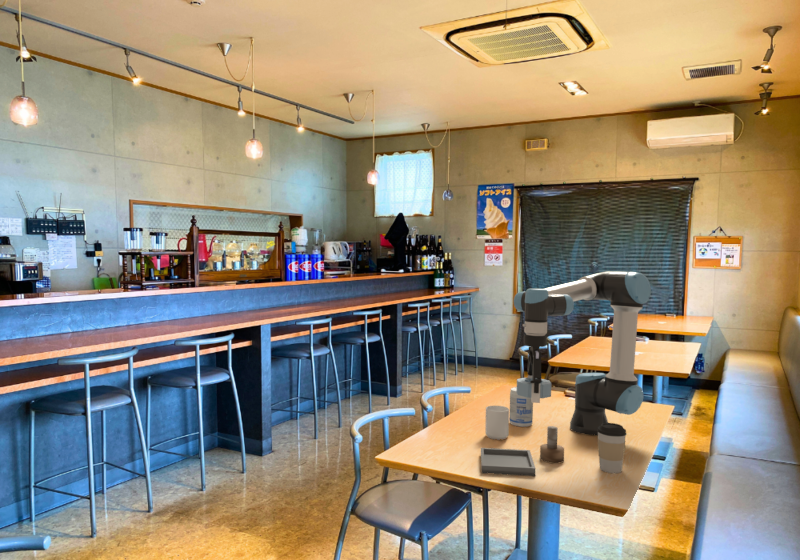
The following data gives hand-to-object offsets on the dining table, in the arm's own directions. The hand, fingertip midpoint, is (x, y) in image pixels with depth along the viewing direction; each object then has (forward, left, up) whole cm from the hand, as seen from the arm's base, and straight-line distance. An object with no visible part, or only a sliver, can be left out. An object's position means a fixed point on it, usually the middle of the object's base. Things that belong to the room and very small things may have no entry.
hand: (533, 398), depth 191 cm
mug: (+10, -27, -22) cm, 36 cm away
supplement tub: (0, -44, -22) cm, 49 cm away
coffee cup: (-25, +3, -22) cm, 34 cm away
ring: (0, 0, +1) cm, 1 cm away
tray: (+9, +4, -22) cm, 24 cm away
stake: (-7, -4, -22) cm, 23 cm away
